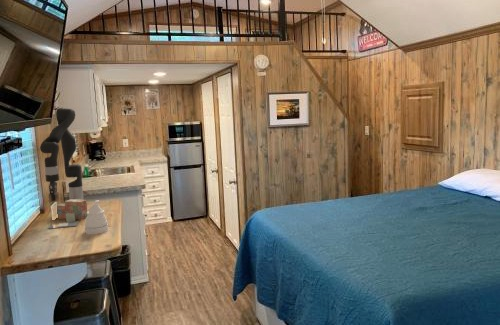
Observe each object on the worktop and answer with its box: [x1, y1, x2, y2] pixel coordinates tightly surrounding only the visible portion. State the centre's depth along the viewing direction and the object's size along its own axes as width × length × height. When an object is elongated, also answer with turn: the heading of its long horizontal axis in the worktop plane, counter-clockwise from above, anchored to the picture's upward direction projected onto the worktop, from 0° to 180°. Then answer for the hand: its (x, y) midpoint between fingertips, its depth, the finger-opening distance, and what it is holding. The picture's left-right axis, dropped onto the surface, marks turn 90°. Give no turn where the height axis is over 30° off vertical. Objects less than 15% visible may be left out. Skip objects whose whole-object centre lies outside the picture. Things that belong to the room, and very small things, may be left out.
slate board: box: [48, 220, 79, 230], centre depth 247 cm, size 10×16×1 cm, turn 108°
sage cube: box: [65, 212, 76, 222], centre depth 257 cm, size 5×5×5 cm
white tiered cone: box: [84, 200, 109, 235], centre depth 234 cm, size 13×13×18 cm
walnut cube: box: [48, 191, 60, 203], centre depth 250 cm, size 5×5×5 cm
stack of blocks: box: [56, 198, 88, 221], centre depth 265 cm, size 21×6×12 cm, turn 78°
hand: (54, 199), depth 250 cm, fingers closed on walnut cube, 5 cm apart
